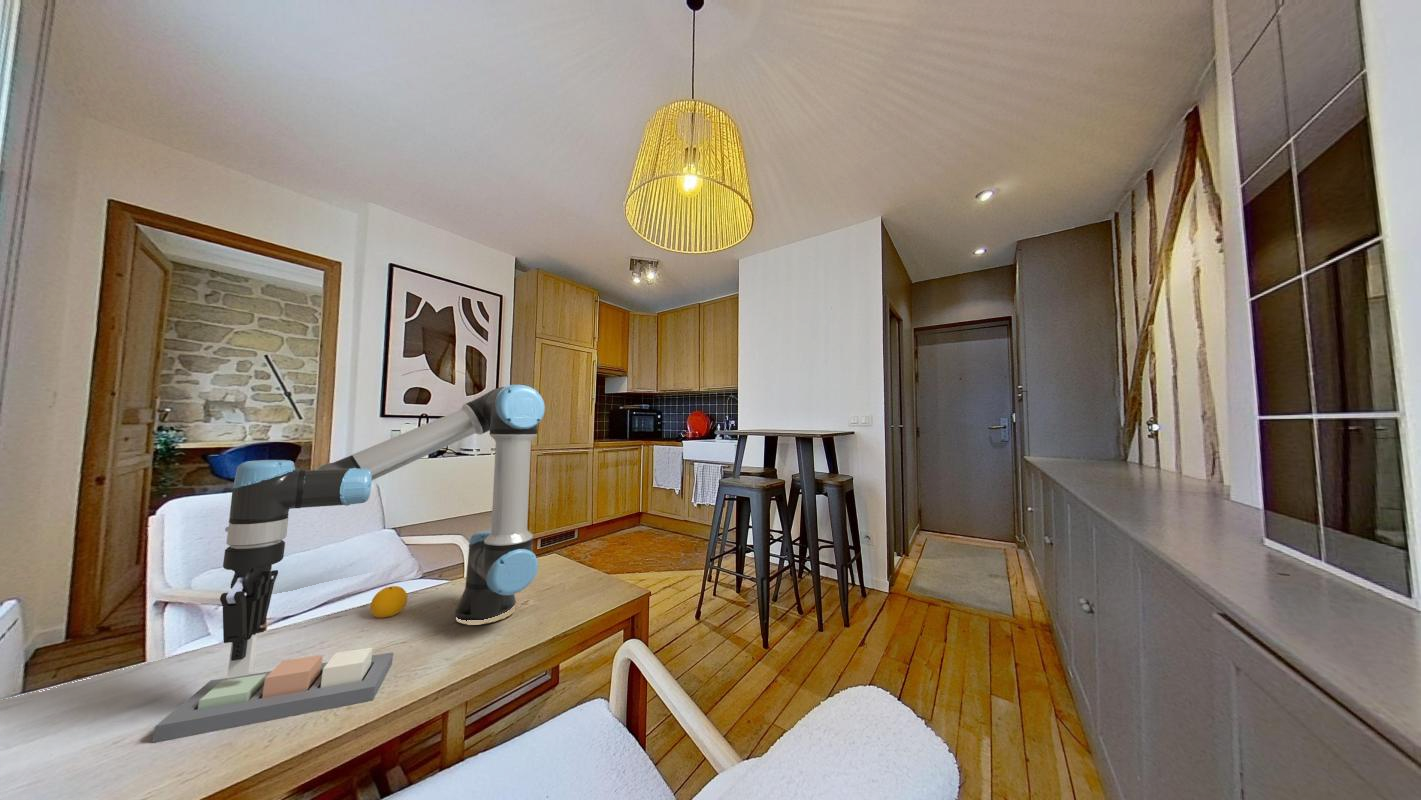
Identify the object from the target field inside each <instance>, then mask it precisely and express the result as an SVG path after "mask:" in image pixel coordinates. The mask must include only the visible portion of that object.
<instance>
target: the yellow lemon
mask: <svg viewBox="0 0 1421 800" xmlns="http://www.w3.org/2000/svg"><path fill="white" fill-rule="evenodd" d="M407 602H408V593H407V592H406V590H405V589H404V588H403V587H401V586H398V585H397V586H396V585H392V586H386V587H385V588H382V589H381V590H379V591H378V592H377V593H376V594H375V595H374V597H373V598H372V599H371V603H370V611H371V613H372V615H373V616H375V617H377V618H382V619H383V618H391V617H393V616H395V614H396V615H397V613H398V614H399V613H400V612H401V611H403V610H404V609H405V607H406V605H407Z"/></svg>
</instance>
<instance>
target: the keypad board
mask: <svg viewBox="0 0 1421 800" xmlns="http://www.w3.org/2000/svg"><path fill="white" fill-rule="evenodd" d="M393 659H394V652H385V653H380V654H374V655H373V654H372V659H371V665H370V667H369V669H368V670H367V672H366V674H365V675H364V678H363V679H362V680H361V681H358V682H352V683H346V684H340V685H335V686H329V687H323V688H321V681H322V673H323V668H324V667H325V666H326V664H327V663H328V662H329V661H328V662H322V665H321V673H320V674H319V676H318V677H317V678H316V679H315V681H314V682H313V683H312V684H311V686H310V687H309V688H308V689H307V690H306V691H300V692H295V693H289V694H283V695H277V696H272V697H266V698H262V695H263V689H264V686H263V687H262V688H261V689H260V690H259V691H258V692H257V693H256V694H255V695H254V696H253V697H252V698H251V699H250V700H249V701H243V702H237V703H232V704H226V705H220V706H214V707H209V708H203V709H198V705H199V700H200V699H201V698H202V697H204V696H205V695H206V694H207V693H208V692H209V691H211V690H212V689H213V688H214V687H215V686H216V685H218V684H219V683H220V682H221V681H223V680H229V679H236V678H242V677H248V676H255V675H261V674H267V675H266V677H267V676H268V675H269V674H270V673H271V672H272V671H273V670H271V671H264V672H263V671H262V672H257V673H250V674H249V675H245V676H239V677H233V678H227V677H224V678H219V679H211V680H209V681H208V682H207V683H205V684H204V685H203V686H202V687H201V688H200V689H198V690H197V691H196V692H195V693H194V694H192V695H191V696H190V697H188V699H187V700H185V701H183V703H182V704H180V705H179V706H178V707H177V708H176V709H174V710H173V711H172V712H171V713H169V715H167V716H166V717H164V718H163V719H162V720H161V721H160V722H159V723H158V724H156V725H155V727H154V731H153V738H152V744H155V743H161V742H164V741H169V740H170V741H171V740H174V739H180V738H185V737H189V736H196V735H200V734H206V733H211V732H217V731H221V730H227V729H232V728H237V727H242V726H249V725H252V724H257V723H263V722H268V721H273V720H277V719H283V718H288V717H293V716H299V715H303V714H304V715H305V714H309V713H315V712H320V711H324V710H330V709H335V708H340V707H346V706H350V705H356V704H360V703H366V702H367V703H368V702H371V701H372V702H373V701H374V700H375V697H376V695H378V691H379V689H380V688H381V686H382V684H383V683H384V680H385V678H386V677H387V674H388V673H389V671H390V668H391V667H392V665H393Z"/></svg>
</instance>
